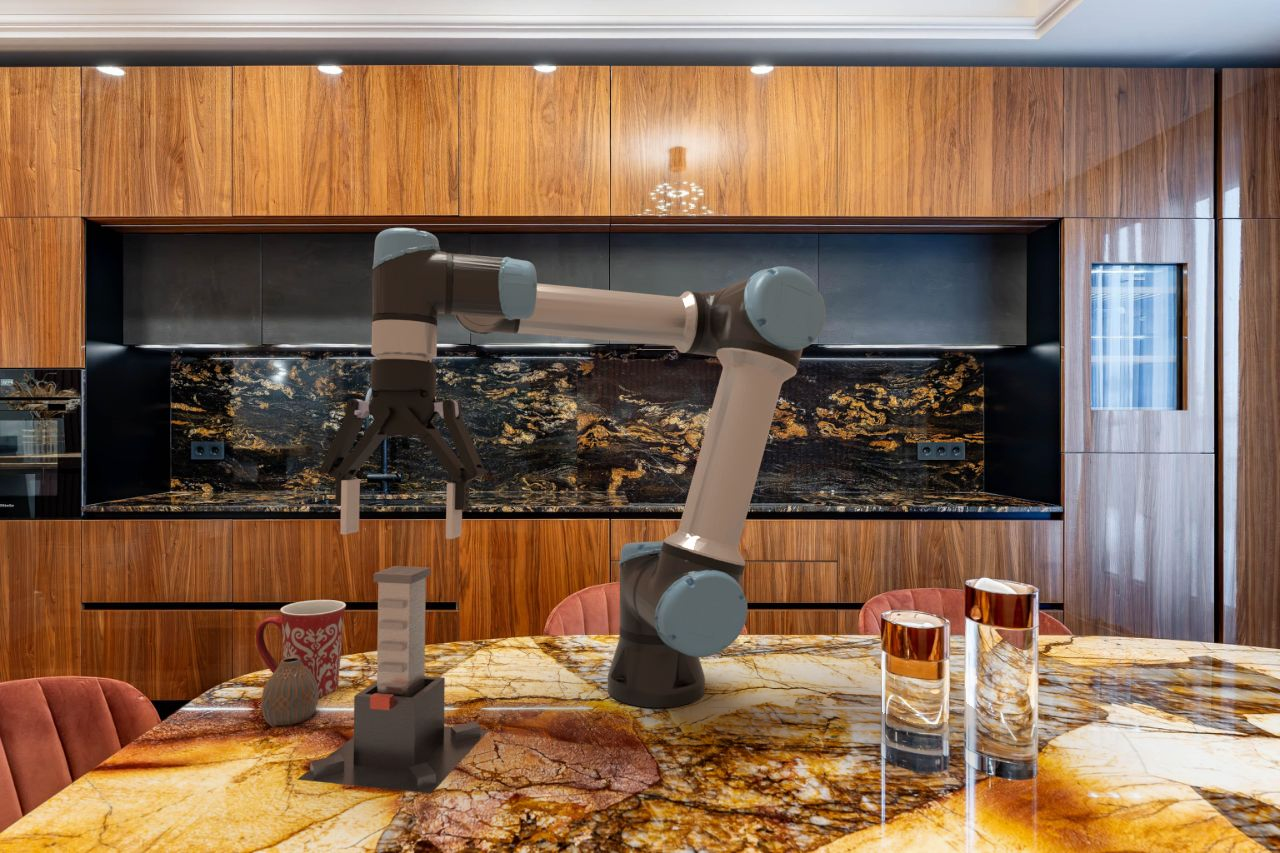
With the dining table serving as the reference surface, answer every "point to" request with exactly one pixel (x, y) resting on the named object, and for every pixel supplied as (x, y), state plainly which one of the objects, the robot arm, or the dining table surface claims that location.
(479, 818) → the dining table surface
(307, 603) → the mug
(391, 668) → the column
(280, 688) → the vase
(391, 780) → the stand base
